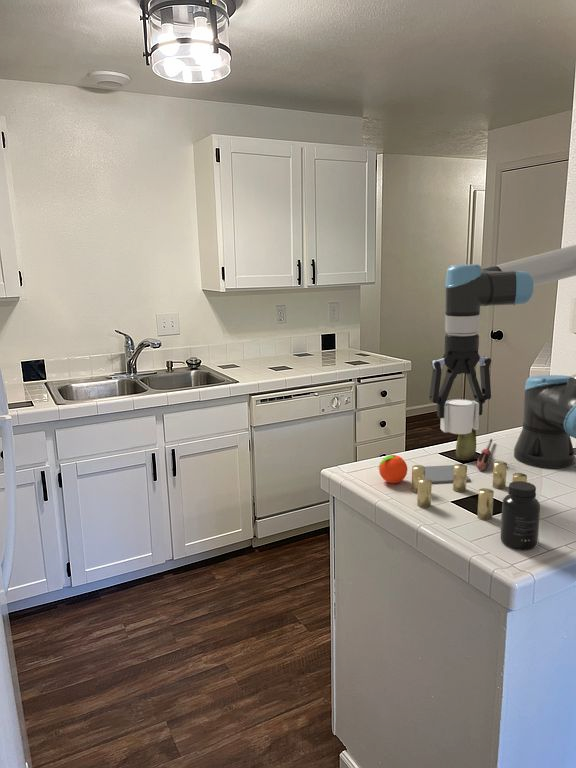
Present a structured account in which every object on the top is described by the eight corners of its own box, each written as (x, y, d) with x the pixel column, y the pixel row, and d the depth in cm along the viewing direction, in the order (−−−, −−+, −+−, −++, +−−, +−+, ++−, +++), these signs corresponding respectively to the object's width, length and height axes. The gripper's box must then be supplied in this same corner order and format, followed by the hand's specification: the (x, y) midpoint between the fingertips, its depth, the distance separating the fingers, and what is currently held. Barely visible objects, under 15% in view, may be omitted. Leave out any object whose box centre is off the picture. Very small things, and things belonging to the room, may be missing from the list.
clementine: (386, 490, 139) (387, 462, 138) (369, 481, 145) (370, 454, 144) (412, 484, 143) (413, 456, 141) (395, 475, 149) (395, 448, 147)
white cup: (476, 435, 133) (477, 405, 132) (446, 435, 134) (446, 406, 133) (472, 426, 140) (472, 398, 138) (443, 426, 141) (443, 398, 140)
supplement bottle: (495, 534, 117) (498, 478, 114) (529, 534, 116) (533, 478, 114) (506, 551, 110) (510, 492, 107) (543, 551, 110) (547, 492, 107)
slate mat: (456, 467, 153) (456, 464, 153) (470, 481, 143) (470, 479, 143) (415, 469, 152) (415, 467, 152) (427, 483, 143) (427, 481, 143)
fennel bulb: (474, 456, 160) (476, 415, 158) (478, 463, 156) (480, 420, 153) (453, 456, 161) (454, 415, 158) (456, 463, 156) (458, 420, 154)
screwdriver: (486, 443, 172) (486, 433, 171) (496, 444, 171) (497, 434, 170) (474, 472, 150) (475, 461, 150) (486, 473, 149) (487, 462, 148)
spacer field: (506, 483, 142) (507, 460, 140) (544, 517, 124) (546, 490, 122) (406, 489, 140) (406, 465, 139) (430, 523, 122) (430, 497, 121)
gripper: (495, 329, 137) (491, 422, 142) (414, 333, 135) (413, 428, 140) (510, 333, 130) (506, 431, 135) (425, 338, 127) (424, 437, 132)
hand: (459, 429), depth 137 cm, fingers closed on white cup, 7 cm apart
